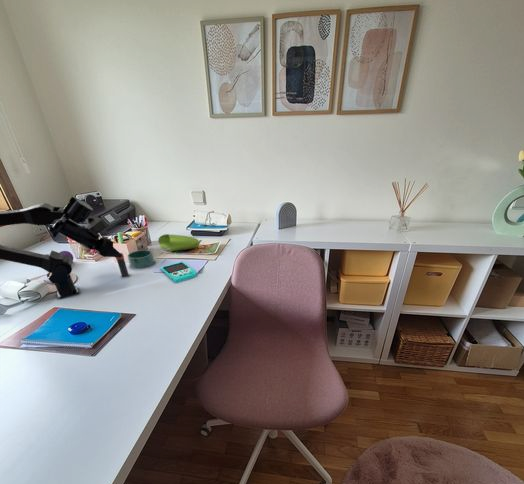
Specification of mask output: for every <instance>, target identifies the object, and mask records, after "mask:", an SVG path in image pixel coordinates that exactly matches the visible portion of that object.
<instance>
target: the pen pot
mask: <svg viewBox="0 0 524 484" xmlns="http://www.w3.org/2000/svg"><path fill="white" fill-rule="evenodd" d="M153 254H154V253H153V251H152V250H150V249H139V250H135V251H134V250H133V251H131V252H130V253H128V254H127V260H128V263H129V266H130V268H132V269H138V270H139V269H140V270H141V269H146V268H149V267H152V266H153V265H154V264H155V259H154V255H153Z"/></svg>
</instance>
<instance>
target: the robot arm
mask: <svg viewBox="0 0 524 484" xmlns="http://www.w3.org/2000/svg"><path fill="white" fill-rule="evenodd" d="M93 211H94V209H93V207H92V206H91V205H90V204H88V203H87V202H86V201H83V200H82V199H79V198H76V197H75V196H74V195H73V196H70V199H69V201H68V202H67V204H66V205H65V207H64V206H54V205H51V204H49V203H46V202H42V203H38V204H35V205H31V206H28V207H26V208H21V209H13V210H3V211H0V227H4V226H12V225H22V224H24V225H25V224H26V225H31V226H32V225H33V226H48V231H49V232H50V234H51V236H52V238H56V237H57V236H58V234H60V235H62V236H64V237H66V238H68V239H69V240H72V241H74V242H76V243H78V244H79V245H81V246H83V247H84V248H86V249H89V250H94V252H95V253H96V254H98V255H99V256H101V257H104V258H116V257H119V258H121V257H122V254H121V253H122V252H120V251H118V250H117V249H116V248H115V247H114V241H113V240H111V239H109V238H107V237H105V236H103V237H100V236H101V235H100V233H101V232H103V231H104V230H105V229H107V228H108V226H109V225H108V224H107V223H106V222H105V221H104V219H103V218H101V217H90V215H91V213H92V212H93ZM54 222H55V223H54ZM85 222H86V225H83V224H84V223H85ZM52 224H54V225H52ZM81 224H82V225H81ZM51 225H52V226H51ZM0 260H3V261H7V262H12V263H17V264H22V265H27V266H31V267H37V268H40V269H42V270H44V271H45V272H47V273H51V274H50V276H49V278H48V280H49V282H50V283H51V284H53V285H54V286H55V289H56V290H57V292H56V293H57V298H58V299H63V298H67V297H71V296H75V295H78V294H79V293H80V292H79V289H78V286H76V285H75V283H74V281H73V278H72V276H71V274H72V272H73V268H74V259H73V260H72V259H71V258H70V257H69V256H67V255H65V253H59V252H58V251H55V250H50V252H49V254H45V253H44V254H43V253H38V252H34V251H30V250H26V249H21V248H16V247H12V246H6V245H3V244H0Z"/></svg>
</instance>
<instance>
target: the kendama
mask: <svg viewBox="0 0 524 484" xmlns="http://www.w3.org/2000/svg"><path fill="white" fill-rule="evenodd" d="M58 253H65V255H67V256H69V257H70V258H71V259H72V260H73V261H74V255H73V254H72V253H71V252H70V251H68V250H61V251H59V252H58ZM50 274H51V273H49V272H47V274H46V277H47V278H48V277H49V276H50Z"/></svg>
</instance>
